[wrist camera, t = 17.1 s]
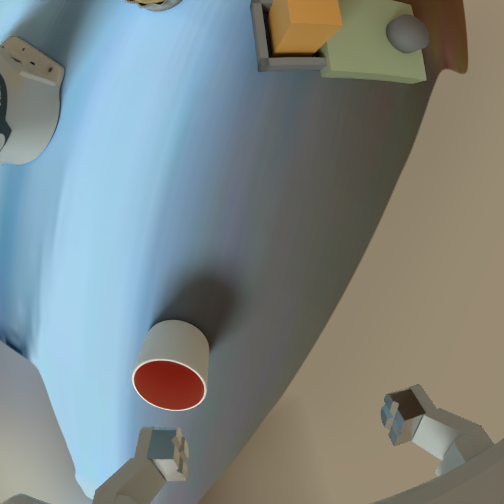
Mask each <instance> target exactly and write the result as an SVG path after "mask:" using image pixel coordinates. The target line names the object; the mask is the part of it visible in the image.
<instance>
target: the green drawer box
mask: <svg viewBox="0 0 504 504" xmlns="http://www.w3.org/2000/svg"><path fill="white" fill-rule="evenodd" d="M272 3H273V0H251V5H250V9H251V16H252V24H253V31H254V39H255V47H256V55H257V63H258V71H259V72H265V71H289V70H320V71H321V77H331V78H356V79H370V80H382V81H392V82H401V83H408V84H413V83H417V82H421V81H426V74H425V67H424V61H423V56H422V50H421V49H423V48H425V47H426V46H427V45H428V43H429V34H428V31H427V29H426V27H425V26H424V24H423V23H422V22H421V21H420V20H419V19H417V18H416V17H414V15H413V11H412V7H411V5H409V4H405V3H401V2H397V1H393V0H338V4H339V8H340V13H341V18H342V23H343V26H342V27H341V28H340V29H339V30H338V31H337V32H336V33H335V34H334V35H333V36H332V37H331V38H330V39H329V40H328V41H326V42H325V43H324V44H323V45H322V46H321V47H320V48H319V49H318V57H283V58H269V56H268V48H267V41H266V33H265V26H264V19H263V12H270V9H271V6H272Z"/></svg>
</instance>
